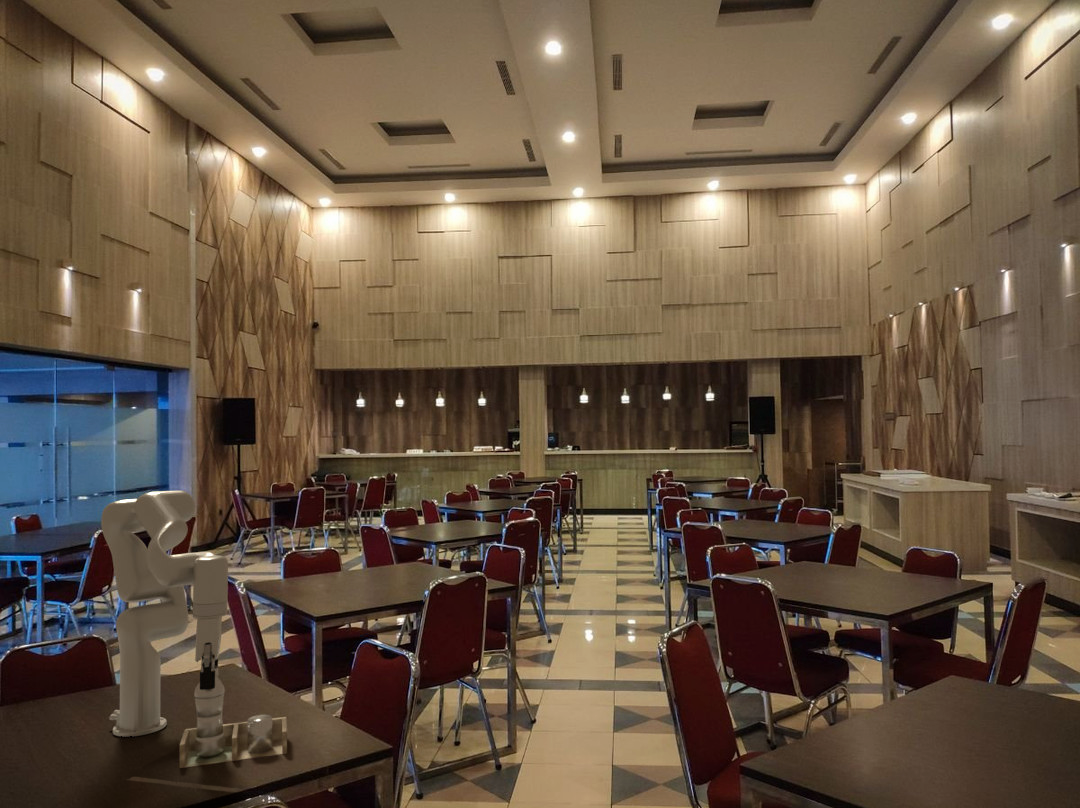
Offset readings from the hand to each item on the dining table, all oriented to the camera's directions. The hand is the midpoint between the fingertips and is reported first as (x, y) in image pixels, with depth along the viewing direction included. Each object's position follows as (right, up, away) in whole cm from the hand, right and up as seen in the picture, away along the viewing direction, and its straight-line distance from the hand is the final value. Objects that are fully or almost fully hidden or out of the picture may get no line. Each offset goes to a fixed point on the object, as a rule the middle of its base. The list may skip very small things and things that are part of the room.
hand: (208, 682), depth 186 cm
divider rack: (+6, -17, +1) cm, 18 cm away
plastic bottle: (+1, -17, -1) cm, 17 cm away
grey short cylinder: (+11, -16, +2) cm, 20 cm away
